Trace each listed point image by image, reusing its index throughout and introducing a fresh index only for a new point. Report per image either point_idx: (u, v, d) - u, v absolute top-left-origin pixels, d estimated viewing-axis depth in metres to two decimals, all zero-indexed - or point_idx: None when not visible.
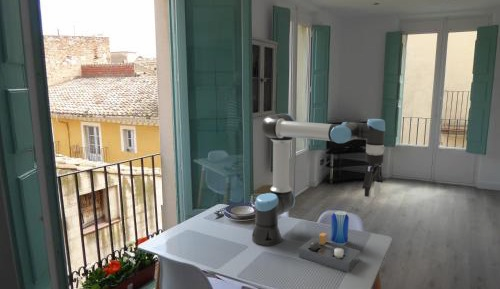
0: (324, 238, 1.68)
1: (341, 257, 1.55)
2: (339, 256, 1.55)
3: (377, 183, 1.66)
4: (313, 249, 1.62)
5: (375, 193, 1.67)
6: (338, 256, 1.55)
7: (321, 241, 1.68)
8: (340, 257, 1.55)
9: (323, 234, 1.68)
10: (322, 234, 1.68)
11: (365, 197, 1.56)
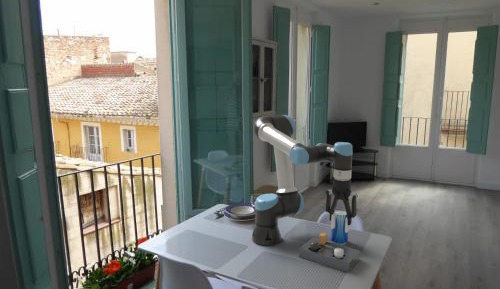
0: (324, 238, 1.68)
1: (341, 257, 1.55)
2: (339, 256, 1.55)
3: None
4: (313, 249, 1.62)
5: None
6: (338, 256, 1.55)
7: (321, 241, 1.68)
8: (340, 257, 1.55)
9: (323, 234, 1.68)
10: (322, 234, 1.68)
11: None
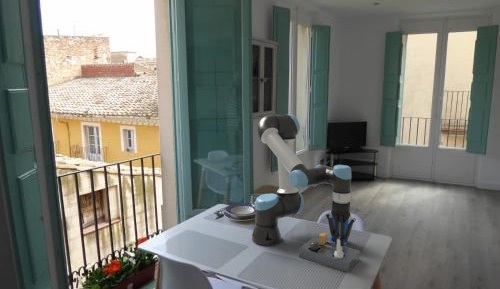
0: (324, 238, 1.68)
1: None
2: None
3: None
4: (313, 249, 1.62)
5: None
6: None
7: (321, 241, 1.68)
8: None
9: (323, 234, 1.68)
10: (322, 234, 1.68)
11: None
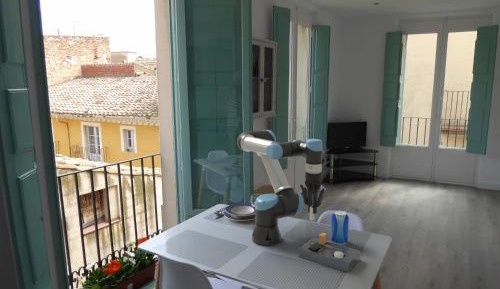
0: (324, 238, 1.68)
1: None
2: None
3: None
4: (313, 249, 1.62)
5: None
6: None
7: (321, 241, 1.68)
8: None
9: (323, 234, 1.68)
10: (322, 234, 1.68)
11: None
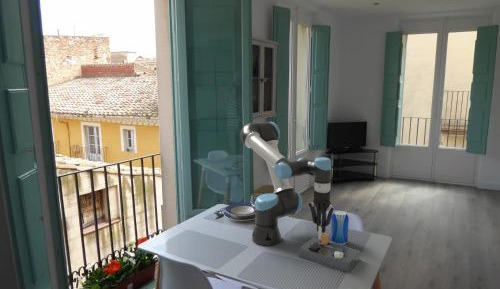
0: (326, 239, 1.67)
1: None
2: None
3: None
4: (313, 249, 1.62)
5: None
6: None
7: (323, 242, 1.67)
8: None
9: (325, 235, 1.68)
10: (324, 235, 1.68)
11: None
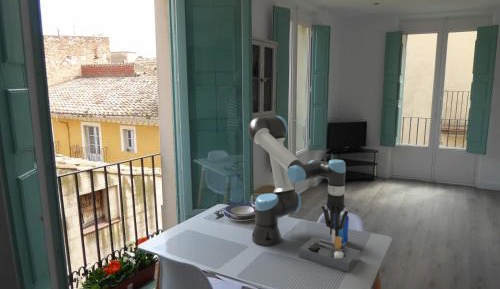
0: (339, 242, 1.63)
1: None
2: None
3: None
4: (313, 249, 1.62)
5: None
6: None
7: (336, 245, 1.63)
8: None
9: (338, 238, 1.64)
10: (337, 238, 1.64)
11: None
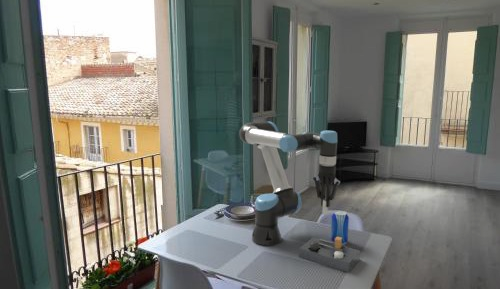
0: (339, 242, 1.63)
1: None
2: None
3: None
4: (313, 249, 1.62)
5: None
6: None
7: (336, 245, 1.63)
8: None
9: (338, 238, 1.64)
10: (337, 238, 1.64)
11: None
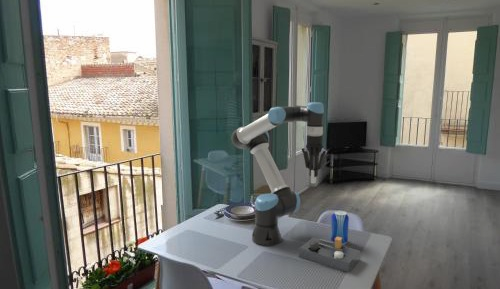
0: (339, 242, 1.63)
1: None
2: None
3: None
4: (313, 249, 1.62)
5: None
6: None
7: (336, 245, 1.63)
8: None
9: (338, 238, 1.64)
10: (337, 238, 1.64)
11: None
